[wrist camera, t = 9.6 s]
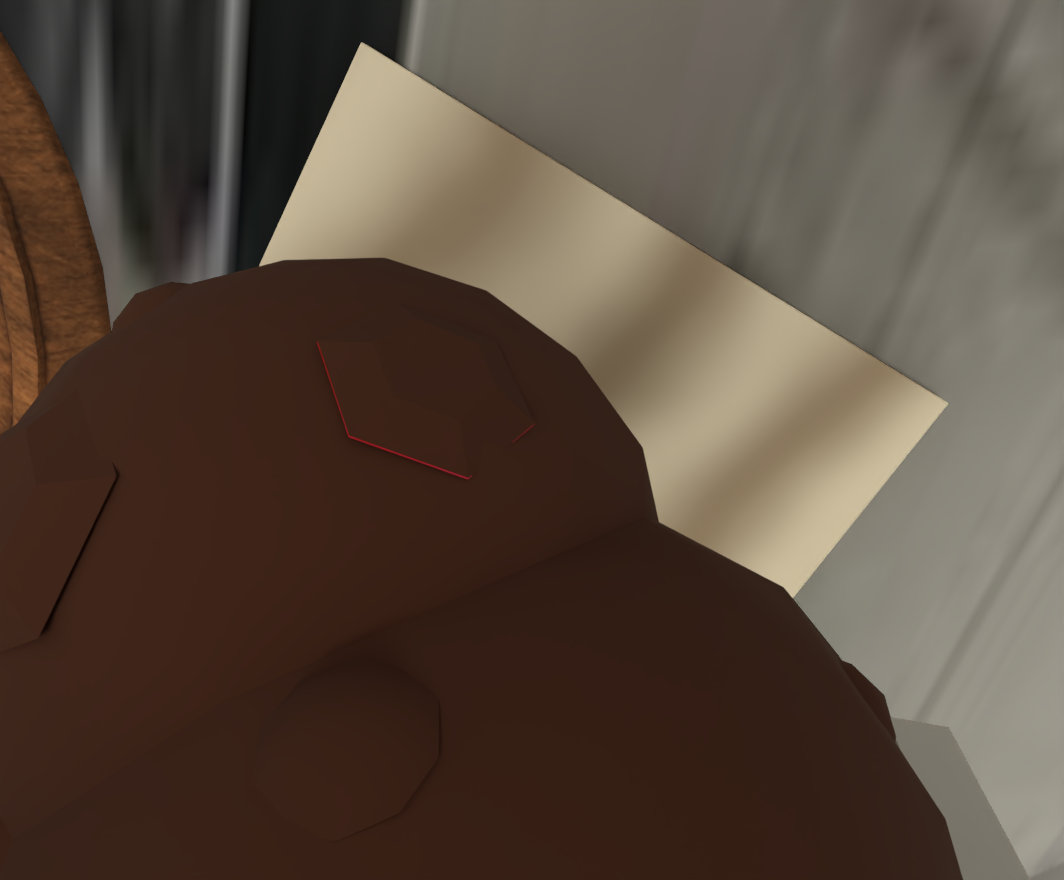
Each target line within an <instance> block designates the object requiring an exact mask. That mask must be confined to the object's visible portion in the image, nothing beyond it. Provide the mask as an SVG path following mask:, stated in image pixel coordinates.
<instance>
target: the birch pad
mask: <svg viewBox="0 0 1064 880" xmlns="http://www.w3.org/2000/svg"><path fill="white" fill-rule="evenodd" d="M347 258H387V259H391V260H394V261H397V262H400V263H403V264H406V265H409V266H412V267H415V268H418V269H422V270H425V271H428V272H431V273H434V274H437V275H440V276H443V277H446V278H449V279H453V280H456V281H459V282H462V283H465V284H468V285H471V286H474V287H477V288H480V289H483V290H487V291H488V292H489V293H491V294H492V295H493V296H495V297H496V298H498V299H499V300H500V301H502V302H503V303H504V304H506V305H507V306H508V307H510V308H511V309H513V310H514V311H515V312H517V313H518V314H519V315H521V316H522V317H523V318H525V319H526V320H528V321H529V322H530V323H532V324H533V325H534V326H536V327H537V328H539V329H540V330H541V331H543V332H544V333H545V334H547V335H548V336H549V337H551V338H552V339H554V340H555V341H556V342H558V343H559V344H560V345H562V346H563V347H564V348H566V349H567V350H569V351H570V352H571V353H573V354H574V355H575V356H577V358H578V359H579V360H580V362H581V363H582V364H583V366H584V367H585V369H586V370H587V371H588V373H589V374H590V375H591V377H592V378H593V380H594V381H595V382H596V384H597V385H598V387H599V388H600V389H601V391H602V392H603V393H604V395H605V396H606V398H607V399H608V400H609V402H610V403H611V404H612V406H613V407H614V409H615V410H616V411H617V413H618V414H619V415H620V417H621V418H622V420H623V421H624V422H625V424H626V425H627V427H628V428H629V429H630V431H631V432H632V433H633V435H634V436H635V438H636V439H637V440H638V442H639V443H640V444H641V446H642V447H643V451H644V456H645V460H646V465H647V469H648V474H649V478H650V483H651V488H652V492H653V497H654V501H655V506H656V511H657V515H658V520H659V522H660V523H662V524H664V525H665V526H667V527H669V528H671V529H673V530H675V531H677V532H679V533H681V534H683V535H685V536H687V537H688V538H690V539H692V540H694V541H696V542H698V543H700V544H702V545H704V546H706V547H708V548H710V549H711V550H713V551H715V552H717V553H719V554H721V555H723V556H725V557H727V558H729V559H731V560H733V561H734V562H736V563H738V564H740V565H742V566H744V567H746V568H748V569H750V570H752V571H754V572H756V573H757V574H759V575H761V576H763V577H765V578H767V579H769V580H771V581H773V582H775V583H777V584H779V585H780V586H782V587H784V588H785V589H786V591H787V592H788V593H789V594H790V596H791V597H792V598H793V597H794V596H795V595H796V594H797V592H798V591H799V590H800V589H801V587H802V586H803V585H804V584H805V582H806V581H807V580H808V579H809V577H810V576H811V575H812V574H813V572H814V571H815V570H816V569H817V567H818V566H819V565H820V564H821V562H822V561H823V560H824V559H825V557H826V556H827V555H828V554H829V552H830V551H831V550H832V549H833V547H834V546H835V545H836V544H837V542H838V541H839V540H840V539H841V537H842V536H843V535H844V534H845V532H846V531H847V530H848V529H849V527H850V526H851V525H852V524H853V522H854V521H855V520H856V519H857V517H858V516H859V515H860V514H861V512H862V511H863V510H864V509H865V507H866V506H867V505H868V504H869V502H870V501H871V500H872V499H873V497H874V496H875V495H876V494H877V492H878V491H879V490H880V489H881V487H882V486H883V485H884V484H885V482H886V481H887V480H888V479H889V477H890V476H891V475H892V474H893V472H894V471H895V470H896V469H897V467H898V466H899V465H900V464H901V462H902V461H903V460H904V459H905V457H906V456H907V455H908V454H909V452H910V451H911V450H912V449H913V447H914V446H915V445H916V444H917V442H918V441H919V440H920V439H921V437H922V436H923V435H924V434H925V432H926V431H927V430H928V428H929V427H930V426H931V425H932V423H933V422H934V421H935V420H936V418H937V417H938V416H939V415H940V413H941V412H942V411H943V410H944V408H945V407H946V406H947V405H948V403H947V402H946V401H944V400H943V399H941V398H940V397H938V396H937V395H935V394H934V393H932V392H930V391H929V390H927V389H925V388H924V387H922V386H921V385H919V384H917V383H916V382H914V381H912V380H911V379H909V378H908V377H906V376H904V375H903V374H901V373H899V372H898V371H896V370H895V369H893V368H891V367H890V366H888V365H886V364H885V363H883V362H882V361H880V360H878V359H877V358H875V357H873V356H872V355H870V354H869V353H867V352H865V351H864V350H862V349H860V348H859V347H857V346H856V345H854V344H852V343H851V342H849V341H847V340H846V339H844V338H843V337H841V336H839V335H838V334H836V333H834V332H833V331H831V330H830V329H828V328H826V327H825V326H823V325H821V324H820V323H818V322H817V321H815V320H813V319H812V318H810V317H808V316H807V315H805V314H804V313H802V312H800V311H799V310H797V309H795V308H794V307H792V306H791V305H789V304H787V303H786V302H784V301H782V300H781V299H779V298H778V297H776V296H774V295H773V294H771V293H769V292H768V291H766V290H765V289H763V288H761V287H760V286H758V285H756V284H755V283H753V282H752V281H750V280H748V279H747V278H745V277H743V276H742V275H740V274H739V273H737V272H735V271H734V270H732V269H730V268H729V267H727V266H726V265H724V264H722V263H721V262H719V261H717V260H716V259H714V258H713V257H711V256H709V255H708V254H706V253H704V252H703V251H701V250H700V249H698V248H696V247H695V246H693V245H691V244H690V243H688V242H687V241H685V240H683V239H682V238H680V237H678V236H677V235H675V234H674V233H672V232H670V231H669V230H667V229H665V228H664V227H662V226H661V225H659V224H657V223H656V222H654V221H652V220H651V219H649V218H648V217H646V216H644V215H643V214H641V213H639V212H638V211H636V210H635V209H633V208H631V207H630V206H628V205H626V204H625V203H623V202H622V201H620V200H618V199H617V198H615V197H613V196H612V195H610V194H609V193H607V192H605V191H604V190H602V189H600V188H599V187H597V186H596V185H594V184H592V183H591V182H589V181H587V180H586V179H584V178H583V177H581V176H579V175H578V174H576V173H574V172H573V171H571V170H570V169H568V168H566V167H565V166H563V165H561V164H560V163H558V162H557V161H555V160H553V159H552V158H550V157H548V156H547V155H545V154H544V153H542V152H540V151H539V150H537V149H535V148H534V147H532V146H531V145H529V144H527V143H526V142H524V141H522V140H521V139H519V138H518V137H516V136H514V135H513V134H511V133H509V132H508V131H506V130H505V129H503V128H501V127H500V126H498V125H496V124H495V123H493V122H492V121H490V120H488V119H487V118H485V117H483V116H482V115H480V114H479V113H477V112H475V111H474V110H472V109H470V108H469V107H467V106H466V105H464V104H462V103H461V102H459V101H457V100H456V99H454V98H453V97H451V96H449V95H448V94H446V93H444V92H443V91H441V90H440V89H438V88H436V87H435V86H433V85H431V84H430V83H428V82H427V81H425V80H423V79H422V78H420V77H418V76H417V75H415V74H414V73H412V72H410V71H409V70H407V69H405V68H404V67H402V66H401V65H399V64H397V63H396V62H394V61H392V60H391V59H389V58H388V57H386V56H384V55H383V54H381V53H379V52H378V51H376V50H375V49H373V48H371V47H370V46H368V45H366V44H364V43H362V42H361V44H360V46H359V48H358V50H357V53H356V55H355V57H354V59H353V61H352V64H351V66H350V68H349V70H348V72H347V74H346V77H345V79H344V81H343V83H342V85H341V88H340V90H339V92H338V94H337V96H336V99H335V101H334V103H333V105H332V107H331V110H330V112H329V114H328V116H327V118H326V120H325V123H324V125H323V127H322V129H321V131H320V134H319V136H318V138H317V140H316V142H315V145H314V147H313V149H312V151H311V153H310V155H309V158H308V160H307V162H306V164H305V166H304V169H303V171H302V173H301V175H300V177H299V180H298V182H297V184H296V186H295V188H294V191H293V193H292V195H291V197H290V199H289V201H288V204H287V206H286V208H285V210H284V212H283V215H282V217H281V219H280V221H279V223H278V226H277V228H276V230H275V232H274V234H273V237H272V239H271V241H270V243H269V245H268V247H267V250H266V252H265V254H264V256H263V258H262V261H261V263H260V265H259V266H263V265H266V264H270V263H274V262H278V261H282V260H305V259H347Z"/></svg>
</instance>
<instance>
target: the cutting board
mask: <svg viewBox="0 0 1064 880" xmlns="http://www.w3.org/2000/svg"><path fill="white" fill-rule="evenodd" d="M110 332H111V327H110V320H109V312H108V305H107V297H106V290H105V283H104V275H103V268H102V264H101V261H100V257H99V254H98V250H97V247H96V243H95V240H94V236H93V233H92V229H91V226H90V222H89V219H88V215H87V212H86V208H85V205H84V201H83V198H82V194H81V191H80V187H79V184H78V182H77V179H76V177H75V175H74V173H73V170H72V168H71V166H70V163H69V161H68V159H67V157H66V154H65V152H64V150H63V148H62V145H61V143H60V141H59V138H58V136H57V134H56V132H55V129H54V127H53V125H52V122H51V120H50V118H49V116H48V113H47V111H46V109H45V106H44V104H43V102H42V100H41V98H40V96H39V94H38V93H37V91H36V89H35V88H34V86H33V84H32V83H31V81H30V79H29V78H28V76H27V74H26V73H25V71H24V69H23V68H22V66H21V64H20V63H19V61H18V59H17V58H16V56H15V54H14V53H13V51H12V49H11V48H10V46H9V44H8V43H7V41H6V39H5V38H4V36H3V34H2V33H1V31H0V435H1V434H2V433H3V432H5V431H6V430H8V429H10V428H11V427H13V426H15V425H16V424H17V422H18V421H19V420H20V419H21V417H22V416H23V415H24V413H25V412H26V411H27V410H28V408H29V407H30V406H31V405H32V403H33V402H34V401H35V399H36V398H37V397H38V396H39V394H40V393H41V392H42V391H43V389H44V388H45V387H46V386H47V384H48V383H49V382H50V380H51V379H52V378H53V377H54V375H55V374H56V373H57V372H58V370H59V369H60V368H61V366H62V365H63V364H64V363H65V362H66V361H67V360H69V359H70V358H72V357H73V356H75V355H76V354H78V353H79V352H81V351H82V350H84V349H85V348H87V347H88V346H90V345H92V344H93V343H95V342H96V341H98V340H99V339H101V338H102V337H104V336H105V335H107V334H108V333H110Z"/></svg>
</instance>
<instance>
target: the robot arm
mask: <svg viewBox="0 0 1064 880" xmlns="http://www.w3.org/2000/svg"><path fill="white" fill-rule="evenodd" d="M891 720H892V724H893V727H894V731H895V734H896V744H897V746H898V747H899V749H900V750H901V752H902V753H903V755H904V756H905V758H906V759H907V761H908V762H909V764H910V765H911V767H912V768H913V770H914V771H915V773H916V775H917V776H918V778H919V779H920V781H921V782H922V784H923V785H924V787H925V788H926V790H927V791H928V793H929V794H930V796H931V797H932V799H933V801H934V802H935V804H936V805H937V807H938V808H939V810H940V811H941V813H942V814H943V816H944V817H945V819H946V822H947V826H948V829H949V833H950V836H951V840H952V843H953V846H954V850H955V853H956V857H957V860H958V864H959V867H960V871H961V874H962V878H963V880H1030V879H1029V877H1028V875H1027V873H1026V871H1025V869H1024V867H1023V865H1022V864H1021V862H1020V860H1019V858H1018V856H1017V854H1016V852H1015V851H1014V849H1013V847H1012V845H1011V843H1010V841H1009V839H1008V837H1007V836H1006V834H1005V832H1004V830H1003V828H1002V826H1001V824H1000V822H999V821H998V819H997V817H996V815H995V813H994V811H993V809H992V807H991V806H990V804H989V802H988V800H987V798H986V796H985V794H984V792H983V791H982V789H981V787H980V785H979V783H978V781H977V779H976V777H975V776H974V774H973V772H972V770H971V768H970V766H969V764H968V762H967V761H966V759H965V757H964V755H963V753H962V751H961V749H960V747H959V746H958V744H957V742H956V740H955V738H954V736H953V734H952V732H951V731H950V729H949V727H944V726H939V725H933V724H927V723H921V722H915V721H910V720H904V719H898V718H892V717H891Z"/></svg>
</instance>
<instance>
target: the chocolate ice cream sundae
mask: <svg viewBox="0 0 1064 880" xmlns="http://www.w3.org/2000/svg"><path fill="white" fill-rule="evenodd" d="M0 880H963V878H962V874H961V871H960V867H959V864H958V860H957V857H956V853H955V850H954V846H953V843H952V840H951V836H950V833H949V829H948V826H947V822H946V819H945V817H944V816H943V814H942V813H941V811H940V810H939V808H938V807H937V805H936V804H935V802H934V801H933V799H932V797H931V796H930V794H929V793H928V791H927V790H926V788H925V787H924V785H923V784H922V782H921V781H920V779H919V778H918V776H917V775H916V773H915V771H914V770H913V768H912V767H911V765H910V764H909V762H908V761H907V759H906V758H905V756H904V755H903V753H902V752H901V750H900V749H899V747H898V746H897V744H896V734H895V731H894V727H893V724H892V720H891V717H890V714H889V710H888V707H887V703H886V700H885V696H884V695H883V694H882V693H881V692H880V691H879V690H878V689H877V688H876V687H875V686H874V685H873V684H872V683H871V682H870V681H869V680H868V679H867V678H866V677H865V676H864V675H862V674H861V673H860V672H859V671H858V670H857V669H856V668H855V667H854V666H853V665H852V664H850V663H847V662H844V661H842V660H841V659H840V657H839V655H838V654H837V653H836V652H835V651H834V649H833V648H832V647H831V646H830V644H829V643H828V642H827V641H826V639H825V638H824V637H823V636H822V634H821V633H820V632H819V631H818V629H817V628H816V627H815V626H814V624H813V623H812V622H811V621H810V619H809V618H808V617H807V616H806V614H805V613H804V612H803V611H802V609H801V608H800V607H799V606H798V604H797V603H796V602H795V601H794V599H793V598H792V597H791V596H790V594H789V593H788V592H787V591H786V589H785V588H784V587H782V586H780V585H779V584H777V583H775V582H773V581H771V580H769V579H767V578H765V577H763V576H761V575H759V574H757V573H756V572H754V571H752V570H750V569H748V568H746V567H744V566H742V565H740V564H738V563H736V562H734V561H733V560H731V559H729V558H727V557H725V556H723V555H721V554H719V553H717V552H715V551H713V550H711V549H710V548H708V547H706V546H704V545H702V544H700V543H698V542H696V541H694V540H692V539H690V538H688V537H687V536H685V535H683V534H681V533H679V532H677V531H675V530H673V529H671V528H669V527H667V526H665V525H664V524H662V523H660V522H659V520H658V515H657V511H656V506H655V501H654V497H653V492H652V488H651V483H650V478H649V474H648V469H647V465H646V460H645V456H644V451H643V447H642V446H641V444H640V443H639V442H638V440H637V439H636V438H635V436H634V435H633V433H632V432H631V431H630V429H629V428H628V427H627V425H626V424H625V422H624V421H623V420H622V418H621V417H620V415H619V414H618V413H617V411H616V410H615V409H614V407H613V406H612V404H611V403H610V402H609V400H608V399H607V398H606V396H605V395H604V393H603V392H602V391H601V389H600V388H599V387H598V385H597V384H596V382H595V381H594V380H593V378H592V377H591V375H590V374H589V373H588V371H587V370H586V369H585V367H584V366H583V364H582V363H581V362H580V360H579V359H578V358H577V356H575V355H574V354H573V353H571V352H570V351H569V350H567V349H566V348H564V347H563V346H562V345H560V344H559V343H558V342H556V341H555V340H554V339H552V338H551V337H549V336H548V335H547V334H545V333H544V332H543V331H541V330H540V329H539V328H537V327H536V326H534V325H533V324H532V323H530V322H529V321H528V320H526V319H525V318H523V317H522V316H521V315H519V314H518V313H517V312H515V311H514V310H513V309H511V308H510V307H508V306H507V305H506V304H504V303H503V302H502V301H500V300H499V299H498V298H496V297H495V296H493V295H492V294H491V293H489V292H488V291H487V290H483V289H480V288H477V287H474V286H471V285H468V284H465V283H462V282H459V281H456V280H453V279H449V278H446V277H443V276H440V275H437V274H434V273H431V272H428V271H425V270H422V269H418V268H415V267H412V266H409V265H406V264H403V263H400V262H397V261H394V260H391V259H387V258H347V259H305V260H282V261H278V262H274V263H270V264H266V265H263V266H259V267H255V268H251V269H247V270H243V271H239V272H235V273H231V274H227V275H223V276H219V277H215V278H211V279H207V280H203V281H199V282H195V283H192V284H186V283H175V282H170V283H167V284H163V285H161V286H158V287H155V288H152V289H149V290H146V291H143V292H140V293H137V294H135V295H134V296H133V298H132V299H131V300H130V302H129V303H128V304H127V306H126V307H125V308H124V309H123V311H122V312H121V313H120V315H119V316H118V317H117V319H116V320H115V321H114V323H113V329H112V331H111V332H110V333H108V334H107V335H105V336H104V337H102V338H101V339H99V340H98V341H96V342H95V343H93V344H92V345H90V346H88V347H87V348H85V349H84V350H82V351H81V352H79V353H78V354H76V355H75V356H73V357H72V358H70V359H69V360H67V361H66V362H65V363H64V364H63V365H62V366H61V368H60V369H59V370H58V372H57V373H56V374H55V375H54V377H53V378H52V379H51V380H50V382H49V383H48V384H47V386H46V387H45V388H44V389H43V391H42V392H41V393H40V394H39V396H38V397H37V398H36V399H35V401H34V402H33V403H32V405H31V406H30V407H29V408H28V410H27V411H26V412H25V413H24V415H23V416H22V417H21V419H20V420H19V421H18V422H17V424H16V425H15V426H13V427H11V428H10V429H8V430H6V431H5V432H3V433H2V434H1V435H0Z"/></svg>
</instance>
